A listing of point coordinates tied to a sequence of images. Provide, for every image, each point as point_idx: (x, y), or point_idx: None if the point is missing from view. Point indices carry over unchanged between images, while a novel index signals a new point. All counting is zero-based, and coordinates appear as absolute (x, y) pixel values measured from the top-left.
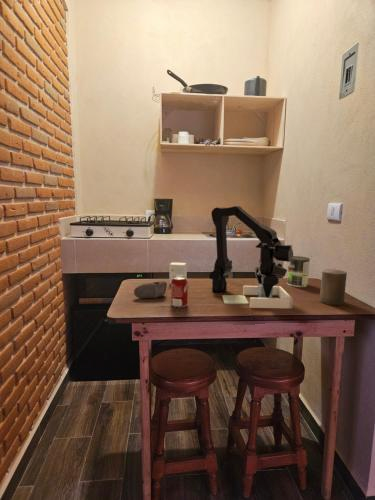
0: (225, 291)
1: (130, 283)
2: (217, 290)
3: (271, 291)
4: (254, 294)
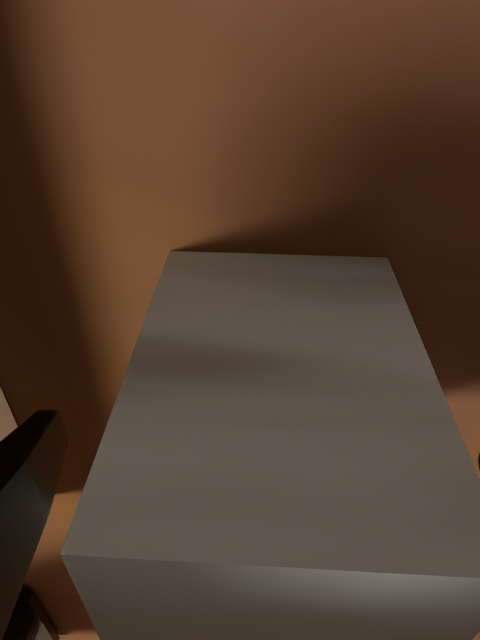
0: (25, 599)
1: None
2: (35, 636)
3: (449, 453)
4: (3, 407)
